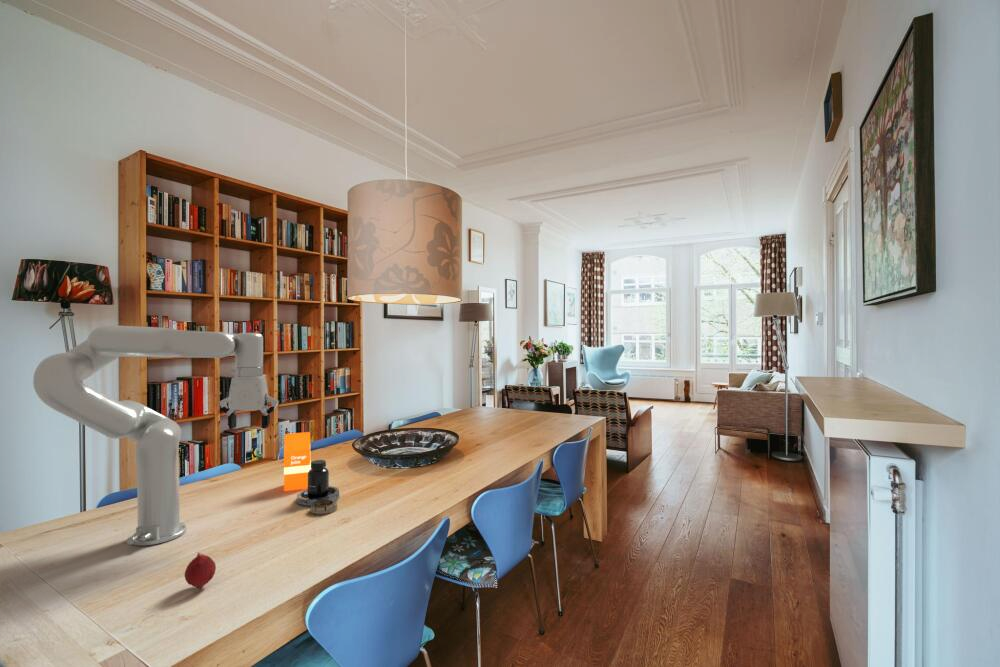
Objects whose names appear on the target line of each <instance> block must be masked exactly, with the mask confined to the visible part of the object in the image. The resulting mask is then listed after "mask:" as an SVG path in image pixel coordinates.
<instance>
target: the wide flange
mask: <svg viewBox="0 0 1000 667" xmlns="http://www.w3.org/2000/svg"><path fill="white" fill-rule="evenodd" d="M307 490H308V488H306V489H302V490H301V491H299V493H298V494H297V495H296V504H297V505H298V506H301V507H307V508H308V507H309V508H311V505H312V503H313V502H315V501H318V500H323V499H334V500H336V501H337V500H339V498H340V490H339V489H338V487H336V486H330V485H329V494H328V496H327V497H322V498H317V499H309V498H308V493H307Z"/></svg>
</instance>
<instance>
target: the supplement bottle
mask: <svg viewBox="0 0 1000 667" xmlns="http://www.w3.org/2000/svg"><path fill="white" fill-rule="evenodd" d="M326 461H327V460H325V459H316V460H312V461H311V470H309V472H308V488H307V489H308V490H307V493H308V498H309V499H317V498H322V497H327V496H328V494H329V486H330V485H329V484H330V482H329V481H330V477H329V476H330V470H329V469H328V468H327V462H326Z"/></svg>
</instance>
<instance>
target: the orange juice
mask: <svg viewBox="0 0 1000 667" xmlns="http://www.w3.org/2000/svg"><path fill="white" fill-rule="evenodd" d="M283 446H284V448H283V482H284V483H283V484H284V485H283V489H284V490H283V491H284V492H288V491H290V492H291V491H296V490H306V489H308V472H309V470H311V462H312V461H311V432H310V431H305V432H293V433H285V434H284V445H283Z"/></svg>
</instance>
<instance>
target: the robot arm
mask: <svg viewBox="0 0 1000 667" xmlns="http://www.w3.org/2000/svg"><path fill="white" fill-rule="evenodd" d="M229 356H234V358H235V360H234V362H235V363H234V364H235V366H234V368H231V369H230V374H233V375H234V377H232V378H231V381H230V386H229V391H228V393H229V394H228V396H227V397H225V398H224V399H222V400H220V401H218V404H219V406H220V408H221V410H222V411H223V413H224V414H225V416H227V426H228V429H229V430H232V429H234V428H237V414H236V412H237V411H258V410H259V411H260V412H261V413H262V415H261V429H263V430H265V429H268V428H269V426H270V420H271V419H270V418H271V417H270V416H271V414H272V413H273V412H274V411H275V410H276V408H277V406H278V404H279V402H280V400H279V399H276V398H274V397H272V396H270V395H269V392H268V383H267V379H266V377H265V376H264V336H263V334H261V333H259V332H240V333H232V332H225V331H201V330H200V331H199V330H198V331H197V330H184V329H183V330H182V329H174V328H169V327H157V326H137V325H135V326H133V325H116V324H115V325H112V324H110V325H109V324H105V325H101V326H98V327H96V328H94V329H92V330H91V331H90V333H89V335H88V337H87V339H85V340H84V341H83V342H81V343H80V344H78V345H76V346H74V347H73V348H71V349H70V350H68V351H66V352H59V353H55V354H52V355H50V356H47V357H45V358H44V359H43V360H41V361H40V362H39V363H38V364H37V366H36V368H35V371H34V373H33V380H32V383H33V384H32V385H33V388H34V391H35V394H36V395H37V397H38V398H39V399H40V401H42V402H43V403H44V404H45V405H46V406H48V407H49V408H50V409H53V410H54V411H56V412H58V413H60V414H62V415H64V416H67V417H68V418H70V419H72V420H74V421H75V422H77V423H80V424H81V425H83V426H86V427H88V428H90V429H92V430H94V431H96V432H98V433H100V434H102V435H103V436H105V437H108V438H111V439H114V440H115V439H116V440H117V439H124V438H127V439H130V440H133V441H134V442H135V446H134V447H135V448H134V451H135V453H134V454H135V463H136V484H137V489H136V490H137V492H136V493H137V496H136V497H137V526H136V527H135V532H134V533H133V534H132V535H131V536H129V537H128V538H127V539H126V544H128V545H134V546H142V547H143V546H152V545H158V544H162V543H166V542H169V541H172V540H174V539H177V538H179V537H181V536H182V535H183V534H184V533H186V531H187V525H186V524H185V523H182V522H180V521H181V520H180V518H181V517H180V516H181V515H180V513H181V512H180V510H181V509H180V506H181V505H180V503H181V502H180V460H179V459H180V458H179V456H180V455H179V451H180V450H179V447H180V446H179V445H180V441H181V438H182V428H181V427H180V425H179V424H178V423H177V422H175V420H173V419H171V418H169V417H167V416H165V415H163V414H161V413H160V412H157V411H156V410H154V409H152V408H150V407H149V406H147V405H145V404H142V403H140V402H137V401H135V400H130V399H129V400H127V399H126V400H116V399H114V398H112V397H110V396H108V395H106V394H104V393H103V392H101V391H99V390H97V389H94V388H93V387H89V386H88V385H86V384H84V383H83V382H82V381H84V380H86V379H88V378H90V377H91V376H93V375H94V374H95V373H97V372H99V371H101V370H102V369H103V368H104V367H106V366H108V365H109V364H111V363H112V362H114V361H116V360H117V359H118V358H119V357H123V358H124V357H125V358H126V357H127V358H128V357H129V358H132V357H133V358H136V357H137V358H165V359H167V358H199V359H200V358H204V359H205V358H207V359H210V358H211V359H221V358H226V357H229ZM227 403H228V404H227ZM269 403H271V404H270V406H269V407H268V405H269Z"/></svg>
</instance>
